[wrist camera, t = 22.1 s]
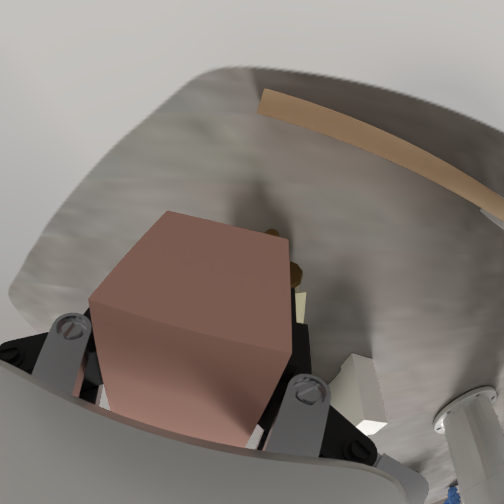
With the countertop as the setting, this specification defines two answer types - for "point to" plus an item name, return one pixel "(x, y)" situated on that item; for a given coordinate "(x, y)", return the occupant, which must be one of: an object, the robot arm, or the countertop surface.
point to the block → (195, 327)
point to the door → (379, 146)
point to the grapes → (452, 496)
